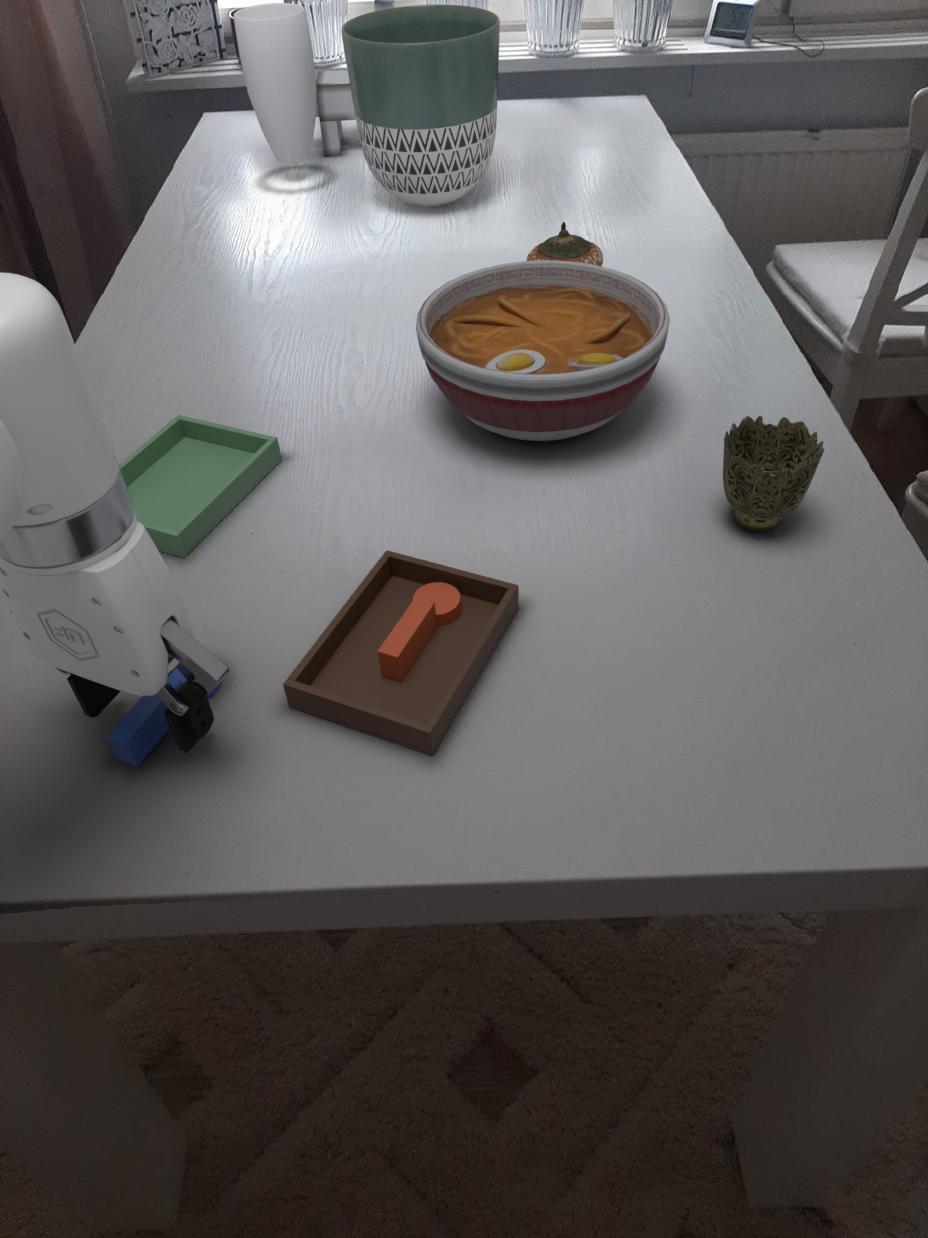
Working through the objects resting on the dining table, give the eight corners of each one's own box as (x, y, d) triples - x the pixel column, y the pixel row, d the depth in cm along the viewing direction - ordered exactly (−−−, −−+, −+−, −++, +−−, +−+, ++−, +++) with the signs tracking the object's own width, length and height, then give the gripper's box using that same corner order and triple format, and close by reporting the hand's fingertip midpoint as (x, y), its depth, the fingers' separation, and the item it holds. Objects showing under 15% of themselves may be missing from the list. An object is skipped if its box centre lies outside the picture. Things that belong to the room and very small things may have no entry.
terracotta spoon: (413, 686, 66) (410, 661, 64) (368, 672, 67) (364, 647, 65) (468, 600, 72) (467, 574, 70) (426, 588, 73) (424, 563, 71)
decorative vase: (804, 500, 79) (825, 419, 74) (802, 556, 74) (824, 473, 69) (714, 489, 81) (728, 409, 75) (706, 543, 76) (720, 460, 70)
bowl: (602, 504, 80) (610, 402, 73) (378, 440, 89) (366, 343, 82) (692, 378, 94) (705, 283, 87) (491, 334, 103) (489, 243, 96)
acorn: (611, 304, 107) (617, 214, 100) (578, 335, 102) (582, 243, 95) (548, 289, 110) (549, 202, 103) (512, 318, 105) (511, 229, 98)
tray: (432, 755, 62) (430, 733, 60) (288, 706, 65) (282, 684, 64) (518, 608, 71) (518, 584, 70) (389, 572, 75) (386, 549, 73)
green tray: (183, 558, 77) (176, 535, 76) (79, 527, 81) (69, 505, 79) (282, 459, 87) (277, 437, 86) (184, 435, 91) (178, 414, 89)
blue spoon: (149, 772, 62) (137, 748, 60) (106, 755, 63) (93, 731, 61) (231, 673, 68) (223, 649, 66) (190, 660, 69) (181, 635, 67)
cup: (332, 164, 144) (310, -1, 129) (330, 189, 136) (305, 17, 121) (265, 169, 144) (234, 4, 128) (258, 194, 136) (225, 22, 121)
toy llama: (312, 141, 152) (291, -4, 138) (420, 135, 152) (410, -11, 138) (308, 157, 147) (286, 7, 133) (420, 150, 146) (409, 0, 132)
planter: (336, 217, 128) (312, 38, 113) (399, 168, 141) (384, 1, 126) (469, 234, 122) (462, 47, 107) (522, 181, 135) (522, 7, 120)
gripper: (-110, 515, 51) (14, 721, 64) (143, 594, 46) (224, 803, 58) (-9, 442, 56) (87, 647, 69) (230, 506, 51) (288, 717, 63)
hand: (150, 717), depth 63 cm, fingers open, 7 cm apart
